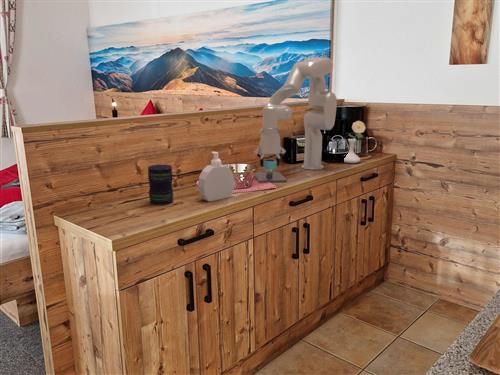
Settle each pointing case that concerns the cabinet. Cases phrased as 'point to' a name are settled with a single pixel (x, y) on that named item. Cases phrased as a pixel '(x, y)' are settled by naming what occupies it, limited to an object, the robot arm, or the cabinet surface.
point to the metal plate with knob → (270, 176)
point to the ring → (269, 164)
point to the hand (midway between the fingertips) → (269, 166)
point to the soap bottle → (216, 181)
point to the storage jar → (160, 184)
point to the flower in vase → (357, 128)
